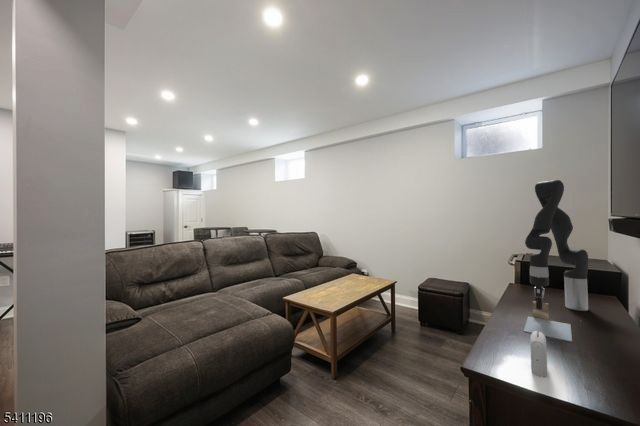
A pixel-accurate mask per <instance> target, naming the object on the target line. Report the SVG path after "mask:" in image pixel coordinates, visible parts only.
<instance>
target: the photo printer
mask: <svg viewBox="0 0 640 426" xmlns="http://www.w3.org/2000/svg"><path fill="white" fill-rule="evenodd" d="M529 340H530V341H529V344H530V345H529V346H530V369H531V373H533V375H535V374H536V376H538V377H541V376H544V377H546V376H547V373H548V354H547V351H548V350H547V337H546V336H544V334H543V333H541V332H538V331H534V332H533V333H530V336H529Z"/></svg>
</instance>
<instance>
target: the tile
mask: <svg viewBox="0 0 640 426" xmlns="http://www.w3.org/2000/svg"><path fill="white" fill-rule="evenodd" d="M549 315H550V313H549V303H547V302H543V303H542V310H540V309H537V308H536V301H534V300H533V301H532V317H534V318H539V319H545V320H550V319H549Z"/></svg>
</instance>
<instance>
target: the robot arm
mask: <svg viewBox="0 0 640 426" xmlns="http://www.w3.org/2000/svg"><path fill="white" fill-rule="evenodd" d="M564 191H565V185H564V183H563V182H562V180H560V179H551V180H546V181H545V180H544V181H539V182H537V183H536V184H535V185H534V192H535V195H536V197H537V199H538V201H539V203H540V205H541V207H542V208H541V209H540V210H539V212H538V213H537V214H536V216H535V217H534V221H533V225H532V229H531V230H530V232H529V233H528V235H527V236H526V238H525V242H524V245H525V246H526V248H527V249H529V250H536V251H540V252H539V253H533V254H530V255H529V283H530V284H531V285H534V289H533V291H534V297H535V299H534V300H535V302H536V308H537V309H540V310H542V303H544V297H545V292H546V291H545V288H544V287H547V286H550V279H549V278H550V277H549V276H550V271H549V264H548V263H549V262H548V261H549V255H550V252H551V249H552V247H553V242H552V239H551V238H550V237H549V236H545V235H546V234H549V233H550V232H552V235H553V238H554V241H555V245H556V249H557V254H558V257H559V260H560V261H561V262H562V264H565V265H569V266H570V265H571V266H574V269H569V270H565V271H564V272H563V279H564V280H563V281H564V304H565V305H564V306H565V307H566V308H567V309H569V310H575V311H581V312H587V311H588V310H589V294H588V272H589V254H588V251H586V250H585V249H581V248H572V247H571V248H570V246H569V244H568V239H569V237H570V236H571V233H572V232H573V228H574V226H573V223H572V221H571V218H570V216H569V214H568V213H566V212H565V211H564V210H562V209H561V208H560V207H559V204H560V202H561V200H562V197H563V195H564ZM541 235H542V236H541ZM543 235H544V236H543Z"/></svg>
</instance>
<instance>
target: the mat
mask: <svg viewBox="0 0 640 426" xmlns="http://www.w3.org/2000/svg"><path fill="white" fill-rule="evenodd" d="M534 331H538V332H541V333H543V334H544V336H545V338H552V339H556V340H560V341H565V342H566V341H567V342H571V343H573V338H572V326H571V324H570V323H565V322H560V321H559V322H558V321H554V320H550V319H549V320H545V319H539V318H534V317H533V316H527V319H526V323H525V325H524V329H523V332H525V333H529V334H532V333H533V332H534Z"/></svg>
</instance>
